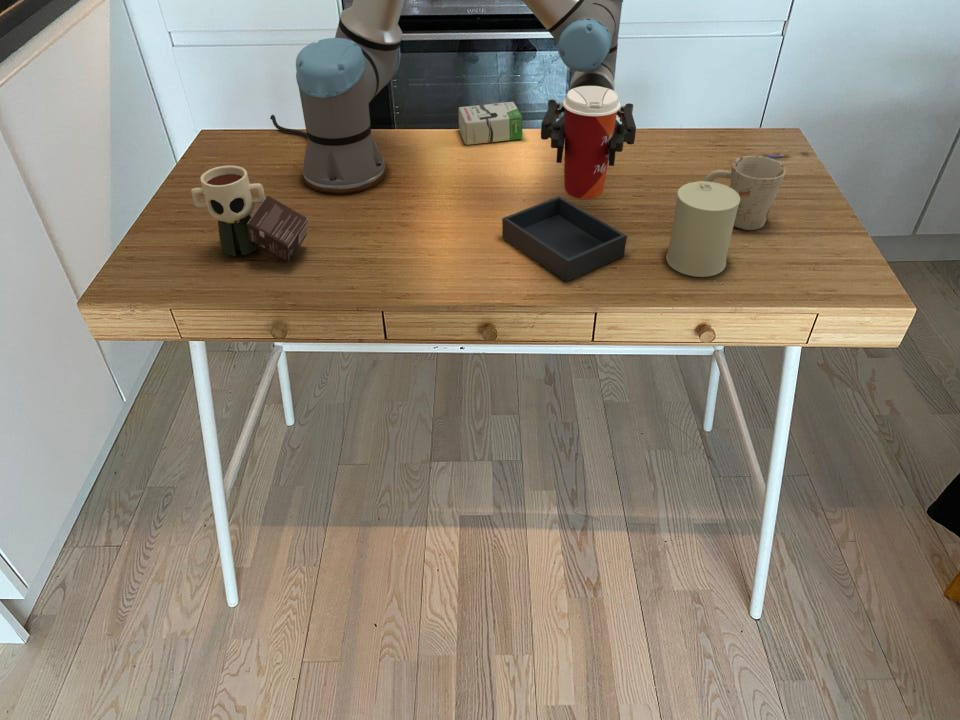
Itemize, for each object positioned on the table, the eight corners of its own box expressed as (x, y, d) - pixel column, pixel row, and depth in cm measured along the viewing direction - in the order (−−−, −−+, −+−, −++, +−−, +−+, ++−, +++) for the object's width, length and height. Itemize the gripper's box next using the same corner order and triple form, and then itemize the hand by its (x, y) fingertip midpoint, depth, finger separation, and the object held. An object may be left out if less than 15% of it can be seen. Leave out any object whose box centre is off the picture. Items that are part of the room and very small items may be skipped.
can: (719, 245, 125) (733, 178, 118) (731, 277, 118) (748, 207, 111) (662, 245, 126) (672, 177, 118) (671, 277, 119) (683, 207, 111)
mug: (769, 237, 127) (784, 182, 121) (692, 225, 130) (702, 170, 124) (773, 213, 133) (787, 159, 127) (699, 202, 136) (709, 149, 130)
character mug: (204, 263, 123) (183, 189, 115) (210, 239, 128) (190, 167, 120) (274, 257, 124) (258, 183, 116) (276, 234, 129) (261, 162, 121)
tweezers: (802, 151, 151) (802, 155, 151) (746, 154, 149) (746, 159, 149) (807, 152, 149) (807, 156, 150) (751, 155, 147) (750, 160, 148)
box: (289, 263, 124) (248, 240, 123) (308, 234, 126) (268, 211, 125) (289, 247, 118) (246, 223, 117) (309, 217, 120) (267, 194, 119)
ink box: (523, 116, 154) (464, 123, 152) (523, 139, 157) (465, 146, 155) (513, 100, 160) (456, 106, 159) (513, 122, 163) (458, 129, 162)
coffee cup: (613, 202, 117) (625, 106, 107) (558, 202, 117) (565, 106, 107) (606, 176, 123) (617, 83, 113) (555, 176, 123) (561, 83, 113)
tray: (502, 238, 128) (502, 218, 126) (558, 215, 133) (559, 195, 131) (566, 282, 118) (568, 261, 115) (624, 256, 123) (626, 235, 121)
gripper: (648, 119, 130) (652, 183, 112) (531, 113, 132) (516, 175, 115) (654, 74, 125) (659, 134, 107) (532, 69, 127) (517, 127, 110)
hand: (585, 155), depth 111 cm, fingers closed on coffee cup, 7 cm apart
